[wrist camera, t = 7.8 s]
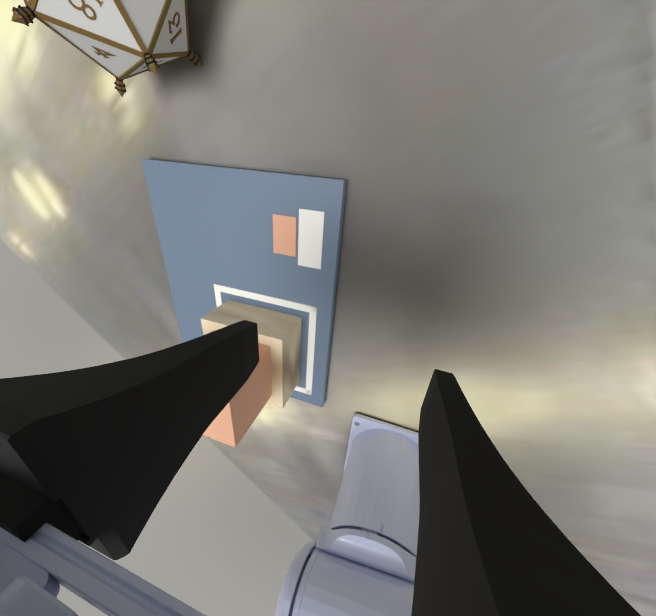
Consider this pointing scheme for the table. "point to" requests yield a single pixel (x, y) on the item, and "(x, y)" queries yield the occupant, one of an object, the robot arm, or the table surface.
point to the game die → (117, 31)
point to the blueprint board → (252, 249)
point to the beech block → (267, 341)
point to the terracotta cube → (244, 403)
